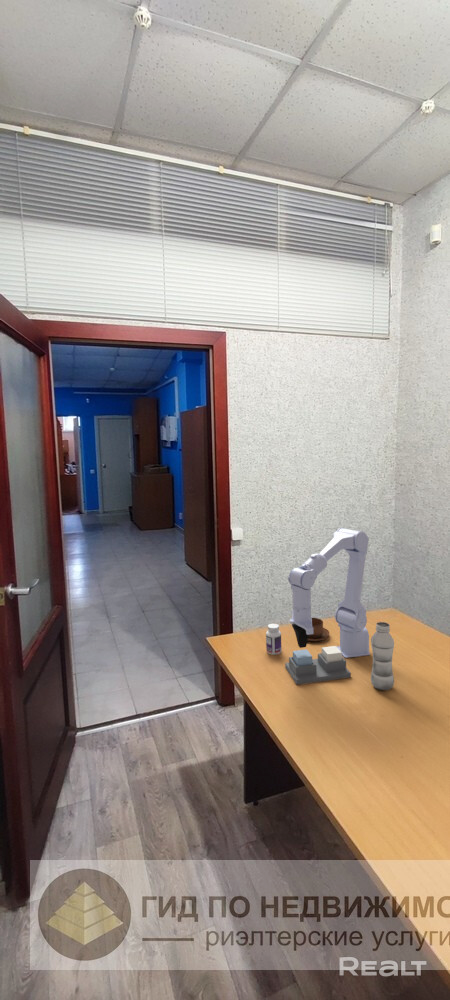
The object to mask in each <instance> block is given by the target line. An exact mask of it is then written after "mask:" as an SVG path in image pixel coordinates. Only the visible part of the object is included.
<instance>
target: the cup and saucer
mask: <svg viewBox="0 0 450 1000" xmlns="http://www.w3.org/2000/svg"><path fill="white" fill-rule="evenodd" d="M311 619H312V627H313V634H310V635H309V637H308V641H309V642H320V641H321V642H322V641H324V640H325V639H327V638H329V636H330V631H329V630H328V629H326V628H325V627H324V621H323V620H322V619H321V618H318V617H311Z"/></svg>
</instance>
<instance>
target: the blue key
mask: <svg viewBox="0 0 450 1000" xmlns="http://www.w3.org/2000/svg"><path fill="white" fill-rule="evenodd" d="M292 657H293V661H294V662H295V664H296V665H297V666H304V665H311V664H312V659H313V656H312V654H311V652H310V651H309V650H308V649H307V648H306V649H298V650H293V651H292Z"/></svg>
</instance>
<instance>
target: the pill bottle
mask: <svg viewBox="0 0 450 1000" xmlns="http://www.w3.org/2000/svg"><path fill="white" fill-rule="evenodd" d="M265 641H266V642H265V643H266V644H265V648H266V649H265V650H266V653H267V654H269V655H273V656H274V655H275V656H276V655H279V654H281V653H282V651H283V650H282V649H283V648H282V633H281V631H280V625H279V624H278V623H269V624H268V625H267V631H266V632H265Z"/></svg>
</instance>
